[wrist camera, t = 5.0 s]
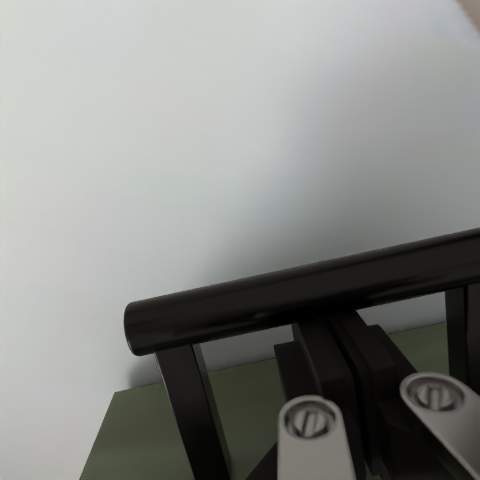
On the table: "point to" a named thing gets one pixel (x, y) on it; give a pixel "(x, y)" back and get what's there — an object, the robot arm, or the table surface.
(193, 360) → the drawer
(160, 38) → the table surface
